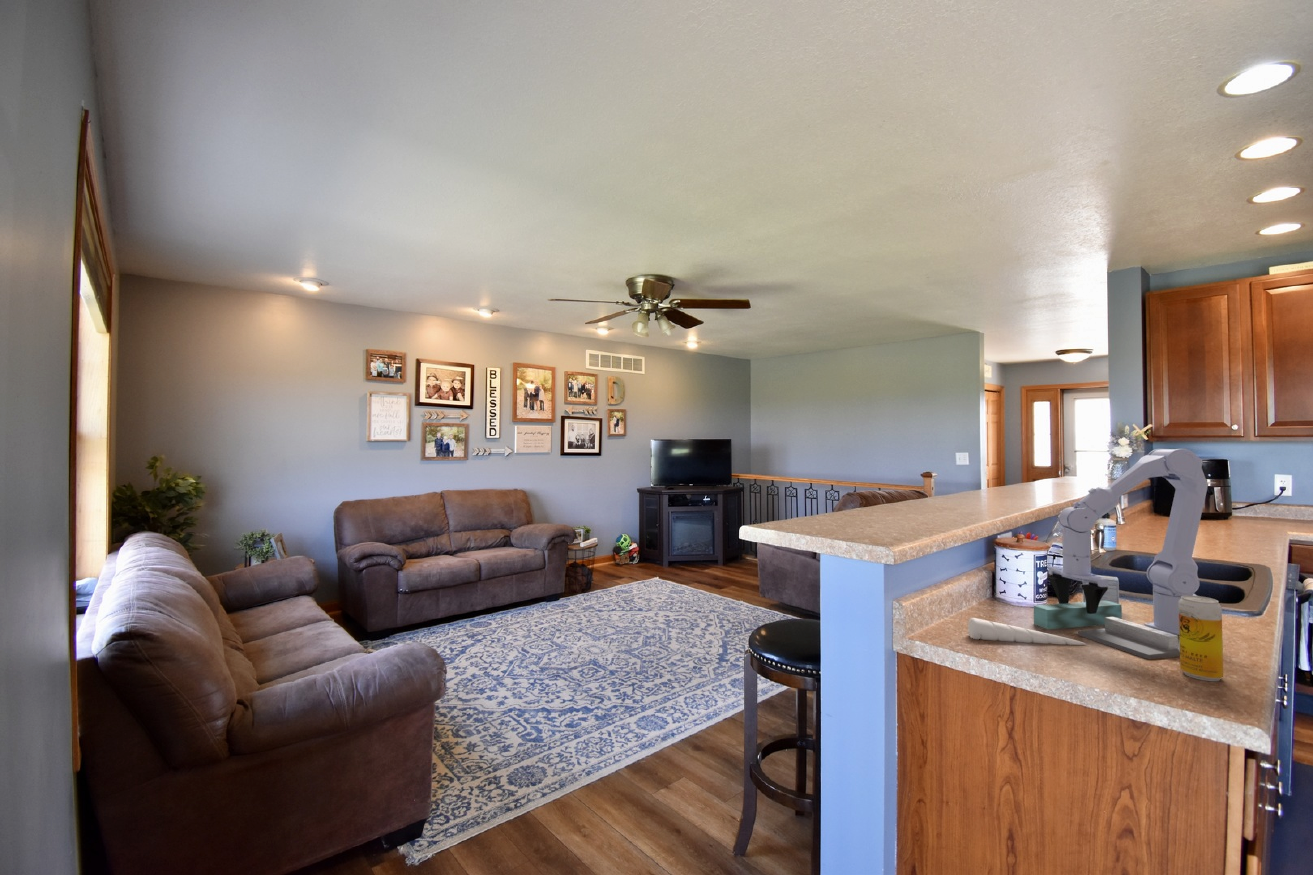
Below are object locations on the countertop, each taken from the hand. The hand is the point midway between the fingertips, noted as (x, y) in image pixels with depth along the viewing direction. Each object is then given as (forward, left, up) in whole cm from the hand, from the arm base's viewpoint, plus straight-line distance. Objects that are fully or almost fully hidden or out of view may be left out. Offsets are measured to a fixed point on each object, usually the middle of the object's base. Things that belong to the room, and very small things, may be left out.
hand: (1077, 608), depth 143 cm
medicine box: (-19, -10, -4) cm, 22 cm away
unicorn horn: (+24, +7, -4) cm, 25 cm away
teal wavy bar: (0, 0, -4) cm, 4 cm away
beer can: (+7, +32, -4) cm, 33 cm away
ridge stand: (0, +15, -4) cm, 15 cm away
